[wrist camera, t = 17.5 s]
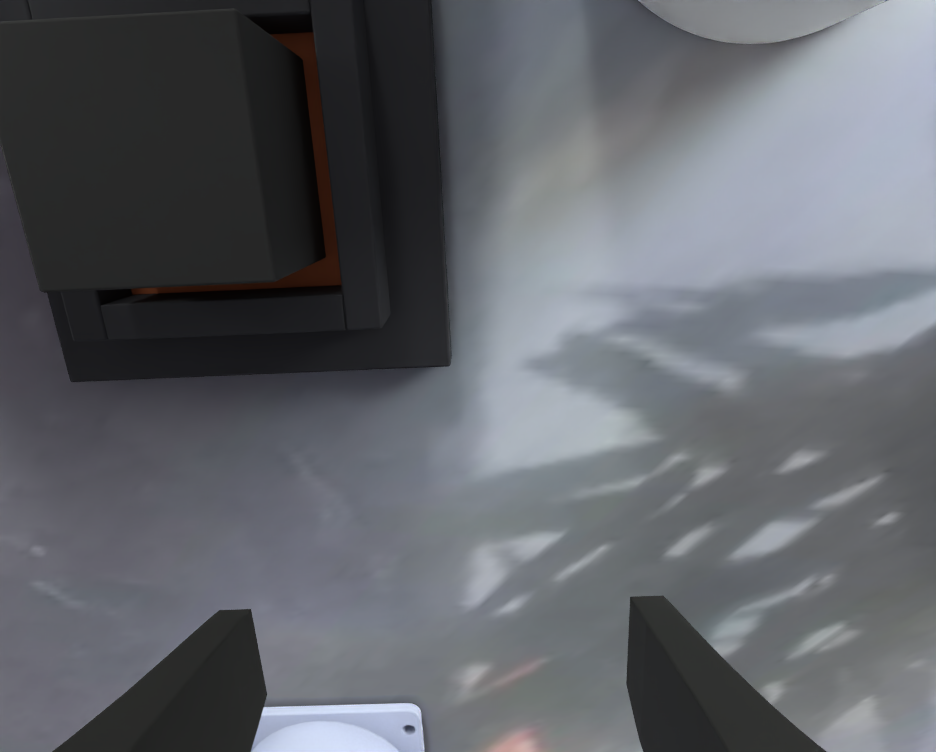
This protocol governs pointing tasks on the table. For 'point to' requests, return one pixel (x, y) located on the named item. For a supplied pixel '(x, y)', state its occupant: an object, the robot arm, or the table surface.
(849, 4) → the tall pillar cylinder
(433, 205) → the base pad
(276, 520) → the table surface
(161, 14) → the black block
